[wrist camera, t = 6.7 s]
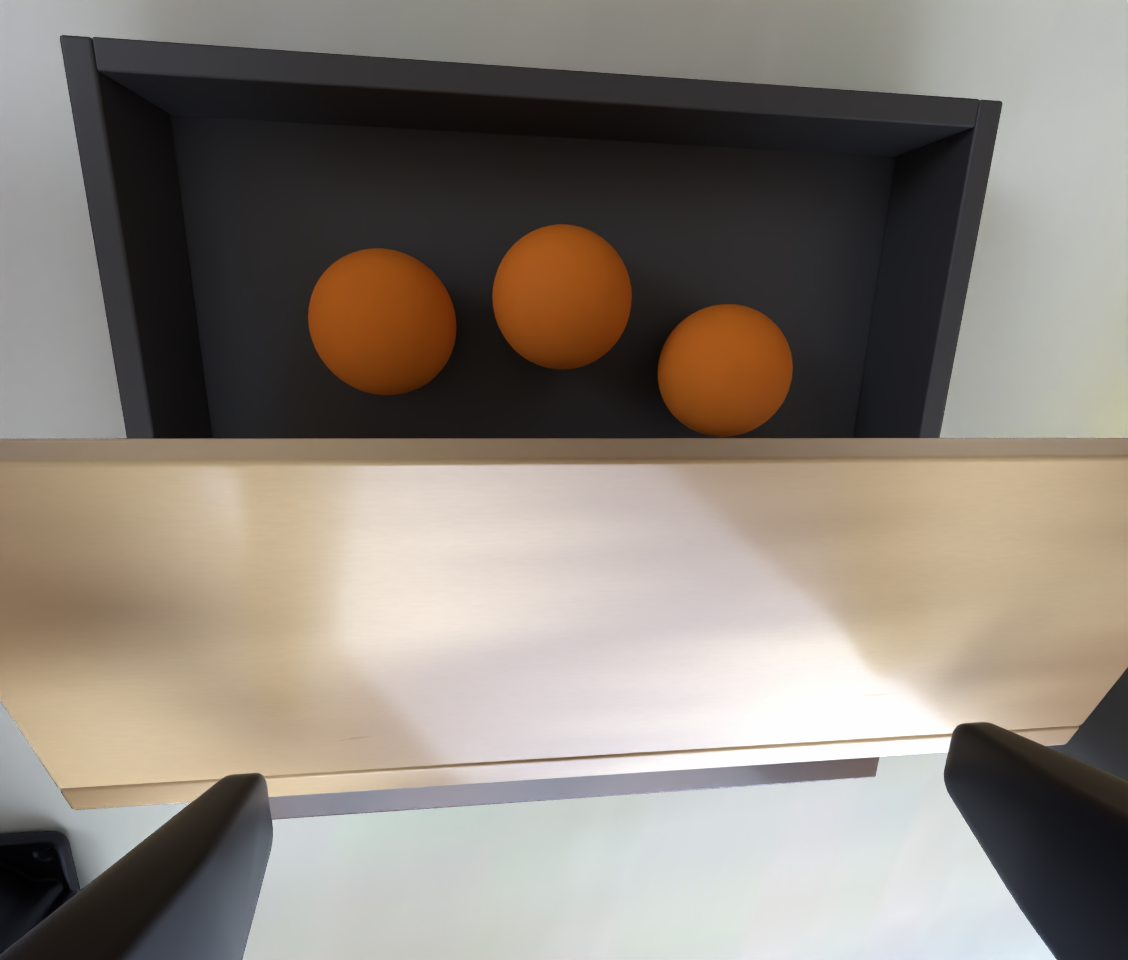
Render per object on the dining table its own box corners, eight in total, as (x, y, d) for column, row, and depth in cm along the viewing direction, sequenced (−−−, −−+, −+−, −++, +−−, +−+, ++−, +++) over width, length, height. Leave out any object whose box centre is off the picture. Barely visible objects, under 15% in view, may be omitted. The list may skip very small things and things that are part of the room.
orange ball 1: (318, 237, 16) (335, 369, 17) (277, 257, 13) (302, 416, 14) (457, 242, 16) (461, 371, 18) (450, 263, 13) (455, 416, 15)
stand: (285, 688, 20) (212, 824, 15) (262, 481, 18) (169, 552, 13) (783, 665, 22) (876, 778, 17) (809, 476, 20) (922, 536, 15)
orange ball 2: (491, 241, 17) (492, 371, 17) (492, 201, 13) (492, 365, 14) (617, 245, 17) (615, 372, 18) (649, 208, 14) (645, 367, 14)
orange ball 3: (664, 273, 16) (637, 369, 19) (689, 372, 14) (656, 463, 17) (793, 277, 16) (748, 371, 19) (834, 373, 14) (778, 462, 17)
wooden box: (71, 812, 8) (-161, 463, 5) (218, 552, 13) (136, 287, 10) (1067, 746, 10) (1301, 455, 7) (886, 538, 15) (983, 309, 12)
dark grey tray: (218, 582, 19) (160, 641, 16) (151, 92, 15) (57, 32, 12) (841, 566, 21) (907, 614, 18) (907, 139, 18) (1004, 99, 14)
